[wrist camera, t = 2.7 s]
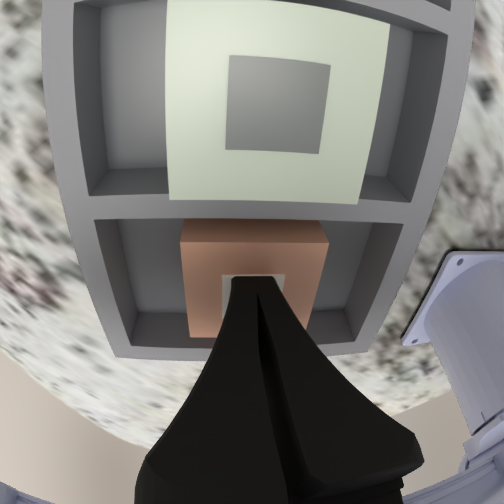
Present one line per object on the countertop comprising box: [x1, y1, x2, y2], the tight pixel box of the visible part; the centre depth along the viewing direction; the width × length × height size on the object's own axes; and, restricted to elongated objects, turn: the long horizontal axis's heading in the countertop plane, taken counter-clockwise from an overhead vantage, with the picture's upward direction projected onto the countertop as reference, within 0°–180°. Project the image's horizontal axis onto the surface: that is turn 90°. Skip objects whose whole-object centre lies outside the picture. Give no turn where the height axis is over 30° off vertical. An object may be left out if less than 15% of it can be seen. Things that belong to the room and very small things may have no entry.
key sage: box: [165, 0, 390, 205], centre depth 7 cm, size 4×4×2 cm
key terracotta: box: [180, 218, 329, 337], centre depth 12 cm, size 4×4×2 cm
